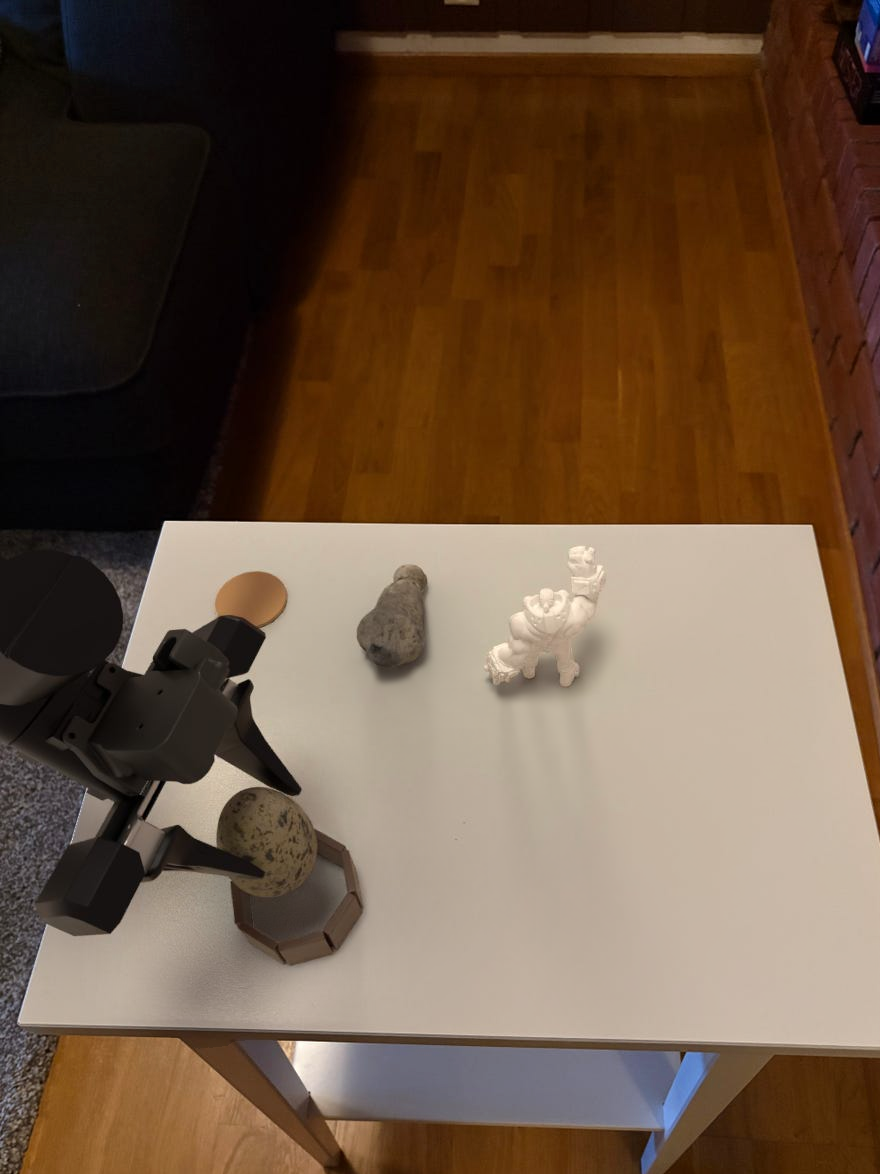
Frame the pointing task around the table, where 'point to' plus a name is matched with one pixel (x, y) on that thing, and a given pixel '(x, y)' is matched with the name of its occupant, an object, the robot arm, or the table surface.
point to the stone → (396, 620)
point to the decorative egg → (268, 839)
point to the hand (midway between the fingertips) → (279, 834)
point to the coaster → (252, 597)
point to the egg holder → (314, 942)
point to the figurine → (550, 623)
